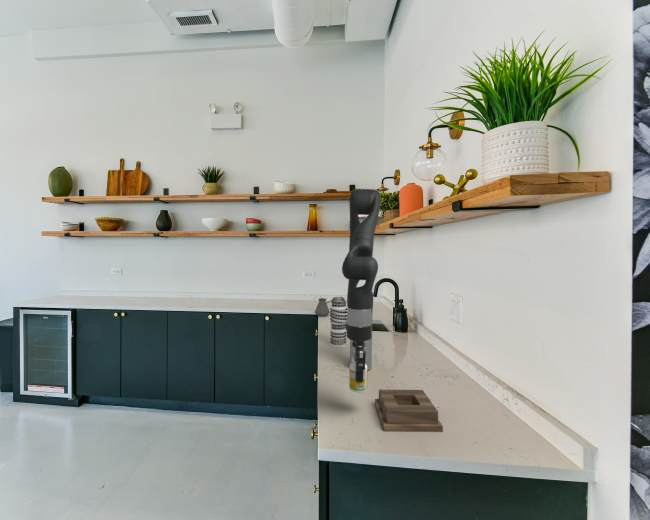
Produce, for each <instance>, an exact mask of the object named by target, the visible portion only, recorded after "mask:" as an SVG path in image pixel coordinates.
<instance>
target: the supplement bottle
mask: <svg viewBox="0 0 650 520" xmlns="http://www.w3.org/2000/svg"><path fill="white" fill-rule="evenodd" d="M356 358H357V357H356ZM352 362H353V363H352V364H351V365H350V364H349V390H350V391H352V392H353V393H364V392H366V391H367V390H368V371H367V365H366V364H365V370H363V382H356V369H355V367H356V365H355V361H354V356H353V357H352ZM358 366H362V363H359V364H358Z"/></svg>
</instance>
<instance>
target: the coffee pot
mask: <svg viewBox="0 0 650 520" xmlns="http://www.w3.org/2000/svg"><path fill="white" fill-rule="evenodd" d="M317 300H318V304H317V305H316V308H315V311H314V314H315V315H317V317H327V316H329V315H330V311H331V310H330V308H329V307H328V304H329V303H332V301H331V300H329V301H327V298H324V297H323V298H320V297H319V298H318V299H317Z"/></svg>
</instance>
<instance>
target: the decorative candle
mask: <svg viewBox="0 0 650 520" xmlns="http://www.w3.org/2000/svg"><path fill="white" fill-rule="evenodd" d="M330 301H332V302H331V306H330V308H329V311H330V313H329V316H330V318H329V320H330V324H331V325H330V327H331V328H330V335H329V336H330V338H329V339H330V341H329V344H330V346H331V347H332V348H333V347H334V348H344V347H346V346H347V311H348V307H347V299H345V297H344V296H335V297H332V299H331V300H330Z"/></svg>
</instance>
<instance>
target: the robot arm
mask: <svg viewBox="0 0 650 520" xmlns="http://www.w3.org/2000/svg"><path fill="white" fill-rule="evenodd" d="M380 210H381V193H380V191H379V190H378V189H371V188H353V189H352V190H351V191H350V194H349V229H350V230H349V245H348V246H349V247H348V252H347V254H346V256H345V258H344V260H343V261H342V264H341V265H342V266H341V272H342V275H343V277H344V278H345V279H346V280H348V284H347V294H346V295H347V297H346V307H347V309H348V310H346V311H347V313H346V315H347V317H346V318H347V320H346V322H347V323H346V339H348V340H349V366H350V365H351V364H352V363H353V362H352V357H353V356H354V361H355V365H356V367H355V369H356V382H363V370H365V364H366V365H367V372H369V371H370V370H372V366H373V364H372V363H373V359H372V357H373V355H372V354H373V311H374V310H373V308H374V294H373V287H374V283H375V280H376V277H377V274H378V270H379V264H378V261H377V259H376V258H375V257H373V253H374V252H373V251H374V241H375V232H376V227H377V224H378V219H379V214H380ZM359 215H360V216H361V215H363V216H366V217H365V218H364V219H363V220H362V221H360V217H359ZM360 281H365V282H364V284H363V285H361V286H358V284H359V282H360ZM356 357H357V358H356ZM359 363H362V366H358V364H359Z"/></svg>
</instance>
